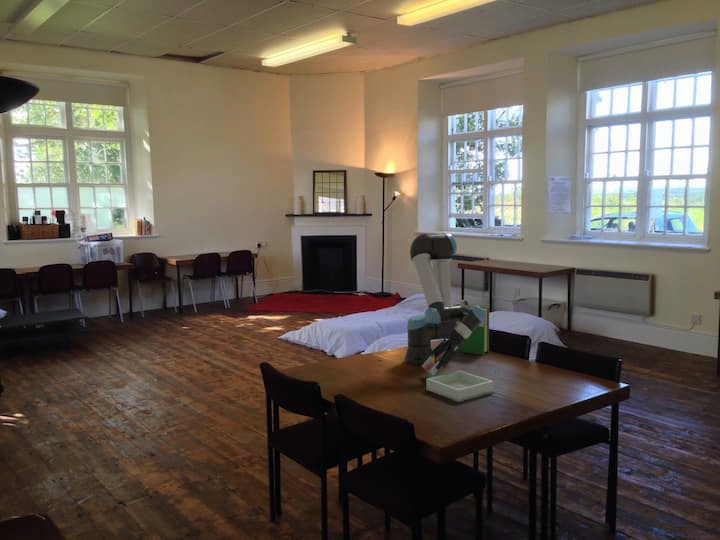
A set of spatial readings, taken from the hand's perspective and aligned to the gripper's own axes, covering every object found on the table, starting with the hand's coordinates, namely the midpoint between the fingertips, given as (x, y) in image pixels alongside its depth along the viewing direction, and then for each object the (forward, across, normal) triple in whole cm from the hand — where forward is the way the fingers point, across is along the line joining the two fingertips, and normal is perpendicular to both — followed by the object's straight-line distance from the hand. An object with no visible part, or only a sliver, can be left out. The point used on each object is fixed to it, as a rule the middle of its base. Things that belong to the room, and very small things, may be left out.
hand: (427, 370), depth 279 cm
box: (-2, -21, -7) cm, 22 cm away
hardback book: (-25, +40, -31) cm, 57 cm away
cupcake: (0, 0, -5) cm, 5 cm away
